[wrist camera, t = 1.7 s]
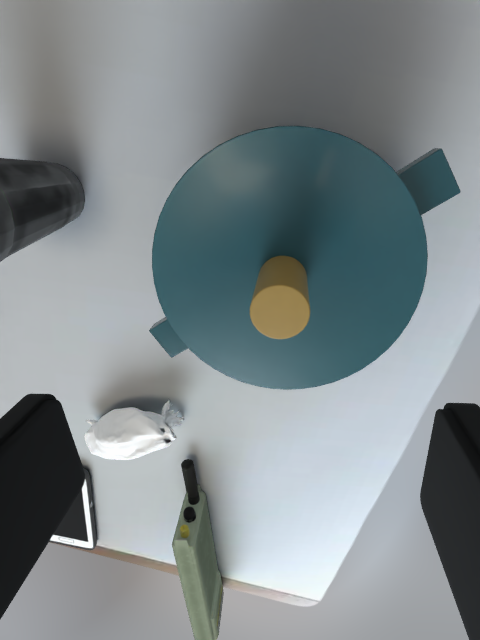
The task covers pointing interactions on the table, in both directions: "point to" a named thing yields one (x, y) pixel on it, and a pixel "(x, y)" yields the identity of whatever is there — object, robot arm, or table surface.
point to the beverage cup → (35, 202)
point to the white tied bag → (131, 432)
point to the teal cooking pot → (424, 185)
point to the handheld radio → (198, 560)
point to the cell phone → (78, 521)
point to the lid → (289, 257)
